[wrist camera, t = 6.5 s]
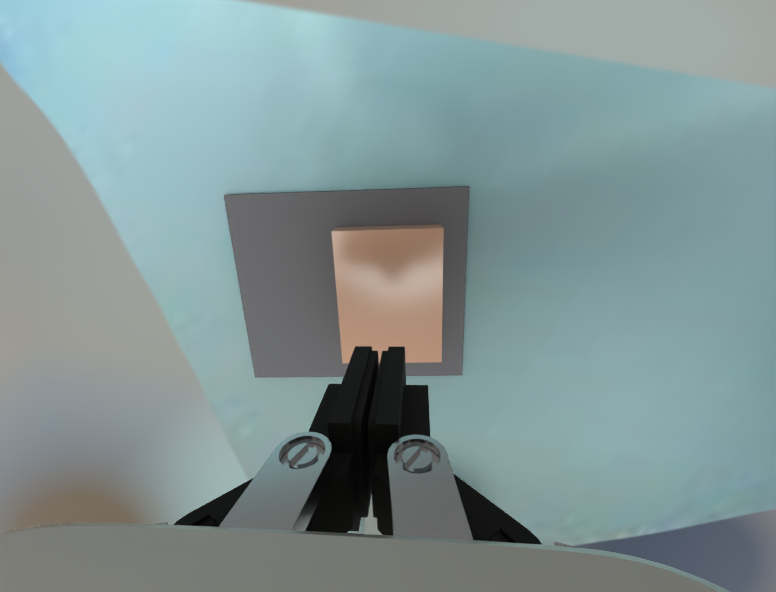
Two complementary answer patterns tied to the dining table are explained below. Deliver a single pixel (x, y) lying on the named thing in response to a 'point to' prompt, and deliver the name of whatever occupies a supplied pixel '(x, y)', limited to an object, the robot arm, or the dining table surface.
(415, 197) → the mat
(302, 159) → the dining table surface
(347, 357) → the tile
